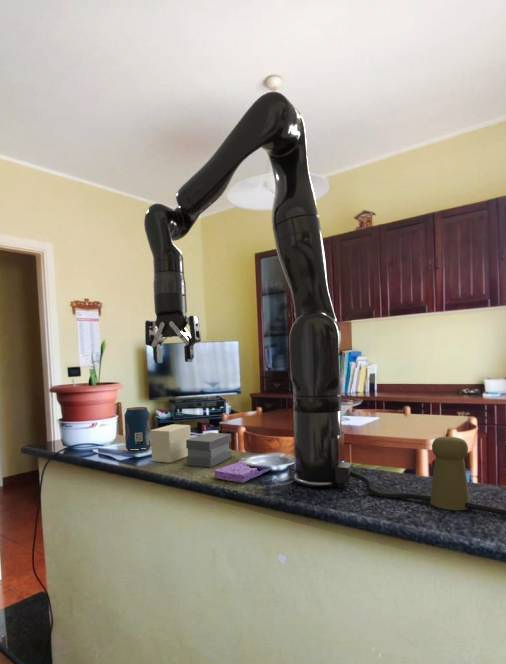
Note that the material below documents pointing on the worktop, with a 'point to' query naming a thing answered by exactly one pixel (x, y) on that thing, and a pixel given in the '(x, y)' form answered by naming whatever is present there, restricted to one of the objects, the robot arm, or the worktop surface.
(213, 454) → the grey books
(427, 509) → the worktop surface
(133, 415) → the soda can
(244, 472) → the sponge
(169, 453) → the cream books
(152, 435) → the pale yellow block
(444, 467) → the cork
